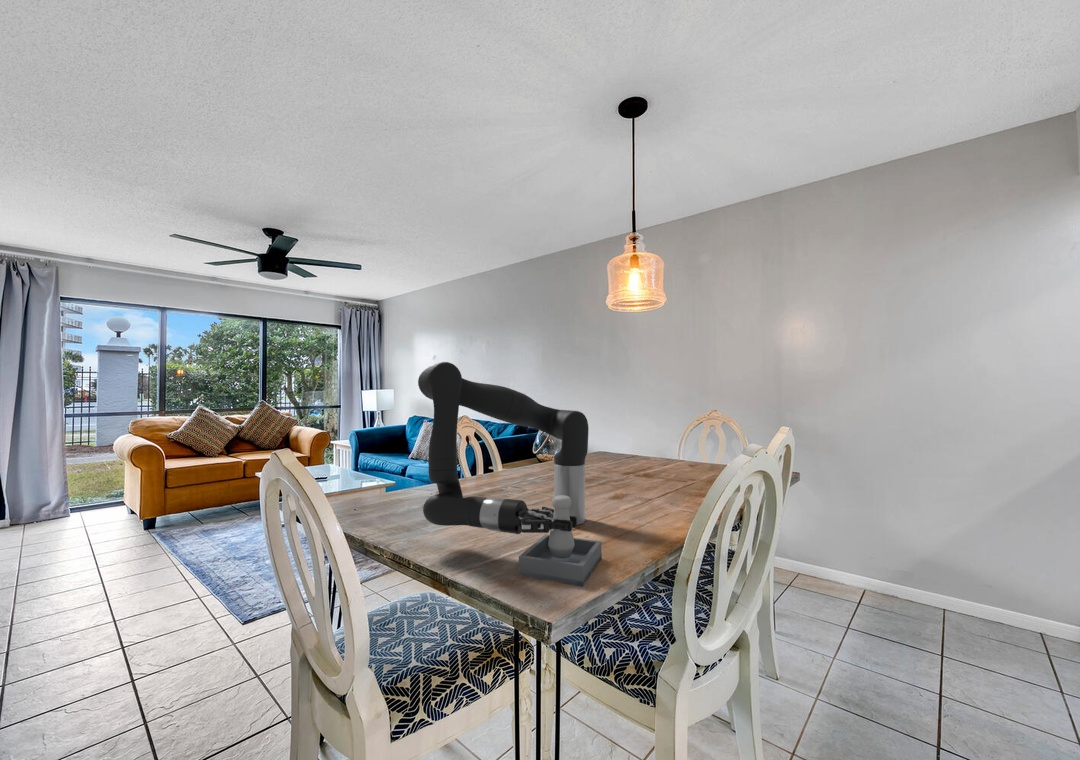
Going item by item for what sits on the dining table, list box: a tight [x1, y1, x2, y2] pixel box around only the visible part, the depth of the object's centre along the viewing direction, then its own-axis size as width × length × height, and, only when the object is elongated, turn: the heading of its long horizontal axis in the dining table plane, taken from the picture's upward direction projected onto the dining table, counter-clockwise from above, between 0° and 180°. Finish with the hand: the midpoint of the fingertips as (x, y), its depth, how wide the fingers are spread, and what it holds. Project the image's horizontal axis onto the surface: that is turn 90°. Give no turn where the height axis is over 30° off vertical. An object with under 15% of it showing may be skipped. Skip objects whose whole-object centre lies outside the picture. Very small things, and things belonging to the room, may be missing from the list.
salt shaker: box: [548, 495, 574, 559], centre depth 100 cm, size 6×6×13 cm
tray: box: [518, 533, 602, 587], centre depth 100 cm, size 16×14×4 cm
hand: (573, 524), depth 99 cm, fingers closed on salt shaker, 3 cm apart
